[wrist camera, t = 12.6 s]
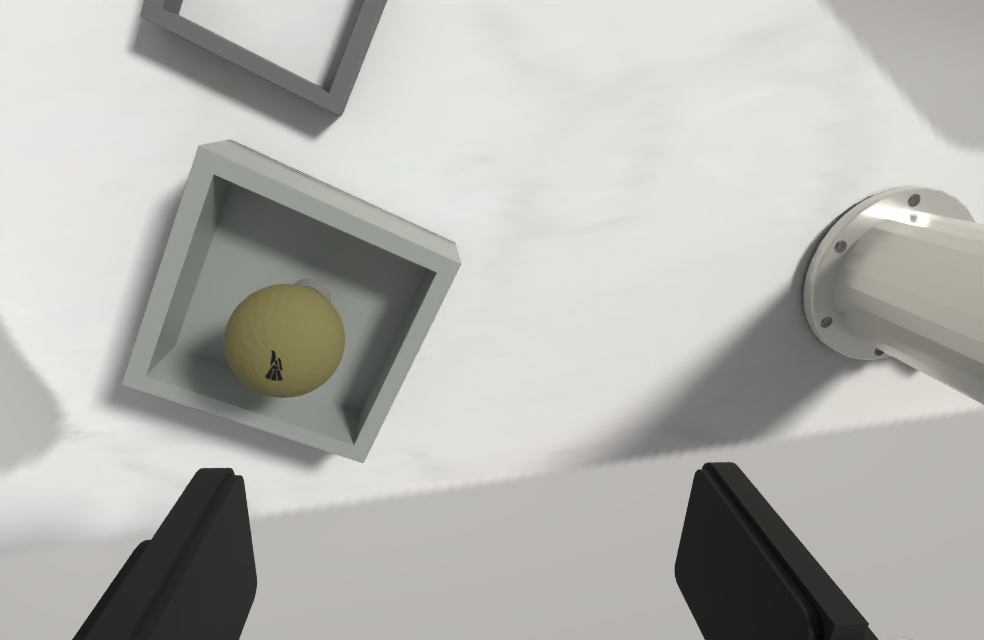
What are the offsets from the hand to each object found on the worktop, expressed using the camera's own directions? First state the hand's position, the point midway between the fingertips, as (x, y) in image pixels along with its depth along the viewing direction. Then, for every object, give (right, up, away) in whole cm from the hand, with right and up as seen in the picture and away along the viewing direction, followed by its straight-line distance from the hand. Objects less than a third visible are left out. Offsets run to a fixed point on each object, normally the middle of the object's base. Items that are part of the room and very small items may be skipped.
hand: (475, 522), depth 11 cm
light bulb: (-11, +6, +23) cm, 26 cm away
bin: (-11, +6, +23) cm, 27 cm away
